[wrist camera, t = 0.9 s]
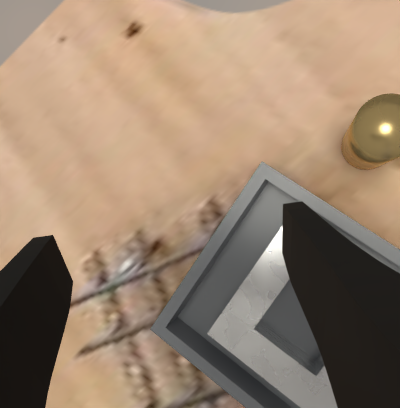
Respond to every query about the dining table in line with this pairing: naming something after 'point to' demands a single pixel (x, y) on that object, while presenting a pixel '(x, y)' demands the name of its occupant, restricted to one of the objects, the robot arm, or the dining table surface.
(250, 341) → the inlet
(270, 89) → the dining table surface
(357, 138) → the connector
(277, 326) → the box
